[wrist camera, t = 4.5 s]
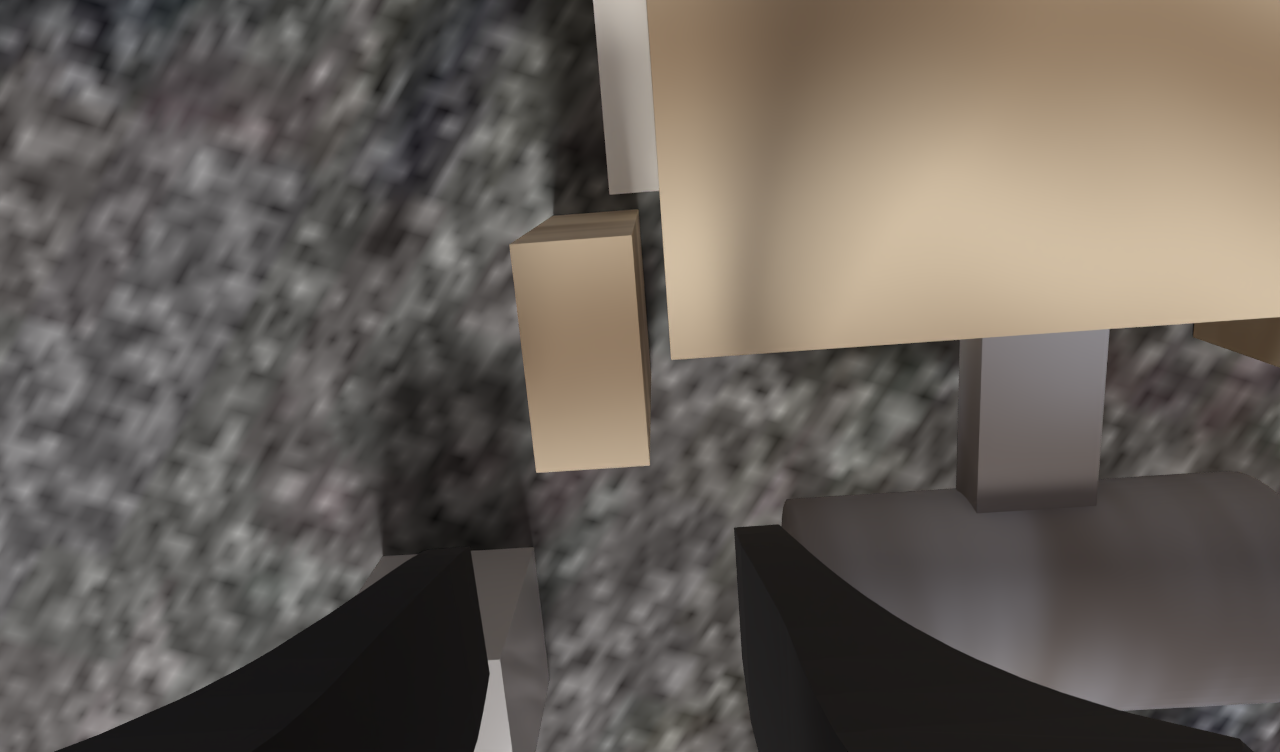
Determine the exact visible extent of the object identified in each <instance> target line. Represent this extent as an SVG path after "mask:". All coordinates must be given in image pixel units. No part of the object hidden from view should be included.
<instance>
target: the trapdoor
mask: <svg viewBox="0 0 1280 752" xmlns="http://www.w3.org/2000/svg"><path fill="white" fill-rule="evenodd" d="M646 4H647V18H648V33H649V47H650V62H651V76H652V91H653V105H654V120H655V134H656V149H657V163H658V177H659V192H660V206H661V221H662V235H663V250H664V264H665V279H666V293H667V308H668V322H669V337H670V350H671V360H676V359H691V358H705V357H719V356H733V355H747V354H762V353H776V352H790V351H804V350H818V349H833V348H847V347H861V346H875V345H889V344H903V343H918V342H932V341H946V340H960V356H959V395H958V434H957V473H956V488H954V489H938V490H922V491H907V492H891V493H876V494H860V495H844V496H829V497H813V498H797V499H787V500H786V501H785V504H784V507H783V514H782V528H783V529H784V530H786V531H787V532H788V533H789V534H790V535H791V536H792V537H794V538H795V539H796V540H797V541H798V542H799V543H800V544H801V545H803V546H804V547H805V548H806V549H807V550H808V551H809V552H810V553H812V554H813V555H814V556H815V557H816V558H817V559H818V560H820V561H821V562H822V563H823V564H824V565H826V566H827V567H828V568H829V569H831V570H832V571H833V572H834V573H836V574H837V575H838V576H839V577H841V578H842V579H843V580H845V581H846V582H847V583H848V584H850V585H851V586H853V587H854V588H855V589H857V590H858V591H859V592H861V593H862V594H864V595H865V596H866V597H868V598H869V599H871V600H872V601H874V602H875V603H877V604H878V605H880V606H881V607H883V608H884V609H886V610H887V611H889V612H890V613H892V614H893V615H895V616H897V617H898V618H900V619H901V620H903V621H905V622H906V623H908V624H910V625H912V626H913V627H915V628H917V629H919V630H921V631H922V632H924V633H926V634H928V635H930V636H932V637H934V638H936V639H937V640H939V641H941V642H943V643H945V644H947V645H949V646H950V647H952V648H954V649H956V650H959V651H961V652H963V653H965V654H967V655H969V656H971V657H974V658H976V659H978V660H980V661H983V662H985V663H987V664H990V665H992V666H995V667H997V668H999V669H1002V670H1004V671H1007V672H1009V673H1011V674H1014V675H1016V676H1019V677H1021V678H1023V679H1026V680H1029V681H1031V682H1034V683H1037V684H1040V685H1043V686H1045V687H1048V688H1051V689H1054V690H1057V691H1059V692H1062V693H1065V694H1069V695H1072V696H1075V697H1078V698H1081V699H1085V700H1088V701H1091V702H1094V703H1098V704H1101V705H1104V706H1107V707H1110V708H1114V709H1117V710H1120V711H1125V710H1144V709H1162V708H1181V707H1199V706H1218V705H1237V704H1255V703H1274V702H1280V496H1279V495H1278V494H1277V493H1276V492H1274V491H1273V490H1272V489H1271V488H1270V487H1269V486H1267V485H1265V484H1264V483H1262V482H1261V481H1259V480H1258V479H1256V478H1253V477H1251V476H1249V475H1247V474H1243V473H1239V472H1233V471H1219V472H1204V473H1188V474H1172V475H1157V476H1141V477H1126V478H1110V479H1098V477H1099V463H1100V450H1101V436H1102V423H1103V409H1104V396H1105V382H1106V369H1107V356H1108V342H1109V329H1116V328H1131V327H1145V326H1159V325H1173V324H1187V323H1202V322H1216V321H1230V320H1244V319H1258V318H1273V317H1280V0H646Z"/></svg>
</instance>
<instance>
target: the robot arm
mask: <svg viewBox="0 0 1280 752" xmlns="http://www.w3.org/2000/svg"><path fill="white" fill-rule="evenodd" d="M734 533H735V549H736V566H737V582H738V598H739V614H740V631H741V647H742V660H743V668H744V675H745V682H746V690H747V697H748V704H749V711H750V718H751V724H752V728H753V732H754V735H755V739H756V743H757V747H758V751H759V752H1253V751H1252V750H1251V749H1250V748H1249V747H1248V746H1247V745H1246V744H1244V743H1243V742H1242V741H1241V740H1240V739H1238V738H1234V737H1230V736H1225V735H1221V734H1217V733H1212V732H1208V731H1204V730H1200V729H1195V728H1191V727H1187V726H1182V725H1178V724H1174V723H1170V722H1165V721H1161V720H1157V719H1152V718H1148V717H1144V716H1140V715H1135V714H1131V713H1128V712H1124V711H1120V710H1117V709H1114V708H1110V707H1107V706H1104V705H1101V704H1098V703H1094V702H1091V701H1088V700H1085V699H1081V698H1078V697H1075V696H1072V695H1069V694H1065V693H1062V692H1059V691H1057V690H1054V689H1051V688H1048V687H1045V686H1043V685H1040V684H1037V683H1034V682H1031V681H1029V680H1026V679H1023V678H1021V677H1019V676H1016V675H1014V674H1011V673H1009V672H1007V671H1004V670H1002V669H999V668H997V667H995V666H992V665H990V664H987V663H985V662H983V661H980V660H978V659H976V658H974V657H971V656H969V655H967V654H965V653H963V652H961V651H959V650H956V649H954V648H952V647H950V646H949V645H947V644H945V643H943V642H941V641H939V640H937V639H936V638H934V637H932V636H930V635H928V634H926V633H924V632H922V631H921V630H919V629H917V628H915V627H913V626H912V625H910V624H908V623H906V622H905V621H903V620H901V619H900V618H898V617H897V616H895V615H893V614H892V613H890V612H889V611H887V610H886V609H884V608H883V607H881V606H880V605H878V604H877V603H875V602H874V601H872V600H871V599H869V598H868V597H866V596H865V595H864V594H862V593H861V592H859V591H858V590H857V589H855V588H854V587H853V586H851V585H850V584H848V583H847V582H846V581H845V580H843V579H842V578H841V577H839V576H838V575H837V574H836V573H834V572H833V571H832V570H831V569H829V568H828V567H827V566H826V565H824V564H823V563H822V562H821V561H820V560H818V559H817V558H816V557H815V556H814V555H813V554H812V553H810V552H809V551H808V550H807V549H806V548H805V547H804V546H803V545H801V544H800V543H799V542H798V541H797V540H796V539H795V538H794V537H792V536H791V535H790V534H789V533H788V532H787V531H786V530H784V529H783V528H782V527H781V526H780V525H765V526H751V527H737V528H734ZM489 676H490V672H489V665H488V659H487V652H486V646H485V639H484V633H483V626H482V620H481V613H480V607H479V600H478V594H477V587H476V581H475V574H474V568H473V561H472V555H471V548H470V546H468V547H454V548H440V549H427V550H425V551H423V552H421V553H419V554H417V555H416V556H414V557H412V558H411V559H409V560H407V561H406V562H404V563H403V564H401V565H400V566H398V567H397V568H395V569H394V570H392V571H391V572H389V573H388V574H387V575H385V576H384V577H382V578H381V579H379V580H378V581H376V582H375V583H374V584H372V585H371V586H369V587H368V588H366V589H365V590H363V591H362V592H361V593H359V594H358V595H356V596H355V597H353V598H352V599H350V600H349V601H348V602H346V603H345V604H343V605H342V606H340V607H339V608H337V609H336V610H334V611H333V612H331V613H330V614H328V615H327V616H325V617H324V618H322V619H321V620H319V621H317V622H316V623H314V624H313V625H311V626H310V627H308V628H306V629H305V630H303V631H302V632H300V633H298V634H297V635H295V636H294V637H292V638H291V639H289V640H287V641H286V642H284V643H283V644H281V645H279V646H278V647H276V648H275V649H273V650H272V651H270V652H268V653H266V654H265V655H263V656H261V657H260V658H258V659H256V660H254V661H253V662H251V663H249V664H247V665H245V666H244V667H242V668H240V669H238V670H236V671H235V672H233V673H231V674H229V675H227V676H225V677H223V678H221V679H219V680H217V681H215V682H213V683H211V684H209V685H208V686H206V687H204V688H202V689H200V690H198V691H196V692H194V693H192V694H190V695H188V696H186V697H183V698H181V699H179V700H177V701H175V702H173V703H170V704H168V705H166V706H163V707H161V708H159V709H157V710H154V711H152V712H150V713H147V714H145V715H143V716H141V717H138V718H136V719H134V720H131V721H129V722H127V723H125V724H122V725H120V726H118V727H115V728H113V729H111V730H109V731H106V732H104V733H102V734H99V735H97V736H94V737H92V738H89V739H87V740H84V741H81V742H79V743H76V744H73V745H71V746H68V747H65V748H63V749H60V750H58V751H55V752H474V750H475V746H476V743H477V740H478V736H479V731H480V726H481V721H482V716H483V711H484V705H485V700H486V694H487V688H488V682H489Z"/></svg>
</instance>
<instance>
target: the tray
mask: <svg viewBox="0 0 1280 752" xmlns="http://www.w3.org/2000/svg"><path fill="white" fill-rule="evenodd" d="M593 5H594V17H595V29H596V41H597V53H598V64H599V76H600V88H601V100H602V112H603V123H604V135H605V147H606V159H607V171H608V182H609V194H610V195H612V194H625V193H637V192H650V191H659V177H658V163H657V149H656V134H655V120H654V105H653V91H652V76H651V62H650V47H649V33H648V18H647V4H646V0H593Z"/></svg>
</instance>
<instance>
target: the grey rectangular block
mask: <svg viewBox="0 0 1280 752" xmlns="http://www.w3.org/2000/svg"><path fill="white" fill-rule="evenodd" d="M416 555H417V554H412V555H395V556H383V557H382V558H381V560H380V561H379V563H378V564H377V566H376V567H375V569H374V570H373V572H372V573H371V575H370V576H369V578H368V579H367V581H366V582H365V584H364V585H363V587H362V588H361V590H360V591H359V593H361V592H362V591H363V590H365V589H366V588H368V587H369V586H371V585H372V584H374V583H375V582H376V581H378V580H379V579H381V578H382V577H384V576H385V575H387V574H388V573H389V572H391V571H392V570H394V569H395V568H397V567H398V566H400V565H401V564H403V563H404V562H406V561H407V560H409V559H411V558H412V557H414V556H416ZM471 555H472V561H473V568H474V574H475V581H476V587H477V594H478V600H479V607H480V613H481V620H482V626H483V633H484V639H485V646H486V652H487V659H488V665H489V672H490V676H489V682H488V688H487V694H486V700H485V705H484V711H483V716H482V721H481V726H480V731H479V736H478V740H477V743H476V746H475V750H474V752H536V747H537V742H538V737H539V731H540V726H541V721H542V716H543V711H544V706H545V701H546V696H547V691H548V685H549V680H550V679H549V670H548V662H547V653H546V645H545V637H544V628H543V620H542V612H541V603H540V595H539V586H538V578H537V570H536V561H535V553H534V547H527V548H511V549H494V550H478V551H471ZM359 593H358V594H359ZM358 594H357V595H358Z"/></svg>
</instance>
